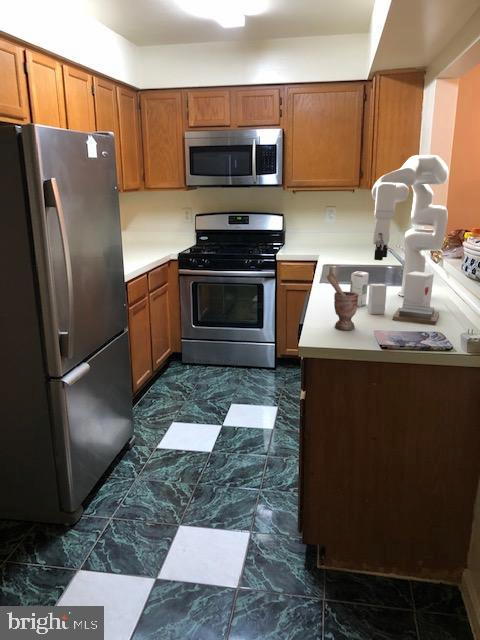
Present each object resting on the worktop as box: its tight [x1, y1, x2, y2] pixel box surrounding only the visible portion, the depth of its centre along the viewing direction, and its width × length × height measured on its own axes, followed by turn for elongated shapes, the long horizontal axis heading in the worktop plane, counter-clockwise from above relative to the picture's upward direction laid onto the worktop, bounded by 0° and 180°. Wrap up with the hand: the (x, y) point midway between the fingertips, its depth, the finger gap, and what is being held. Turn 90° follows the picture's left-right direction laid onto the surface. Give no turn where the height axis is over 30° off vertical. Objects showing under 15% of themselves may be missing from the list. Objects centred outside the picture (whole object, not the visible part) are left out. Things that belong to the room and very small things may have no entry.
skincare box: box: [367, 283, 388, 315], centre depth 211 cm, size 6×4×12 cm
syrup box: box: [349, 271, 369, 308], centre depth 224 cm, size 6×6×14 cm
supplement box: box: [402, 272, 434, 307], centre depth 221 cm, size 9×9×15 cm
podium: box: [392, 304, 440, 326], centre depth 206 cm, size 16×16×4 cm
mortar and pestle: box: [326, 273, 358, 331], centre depth 189 cm, size 12×9×20 cm
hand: (380, 258), depth 207 cm, fingers open, 9 cm apart
